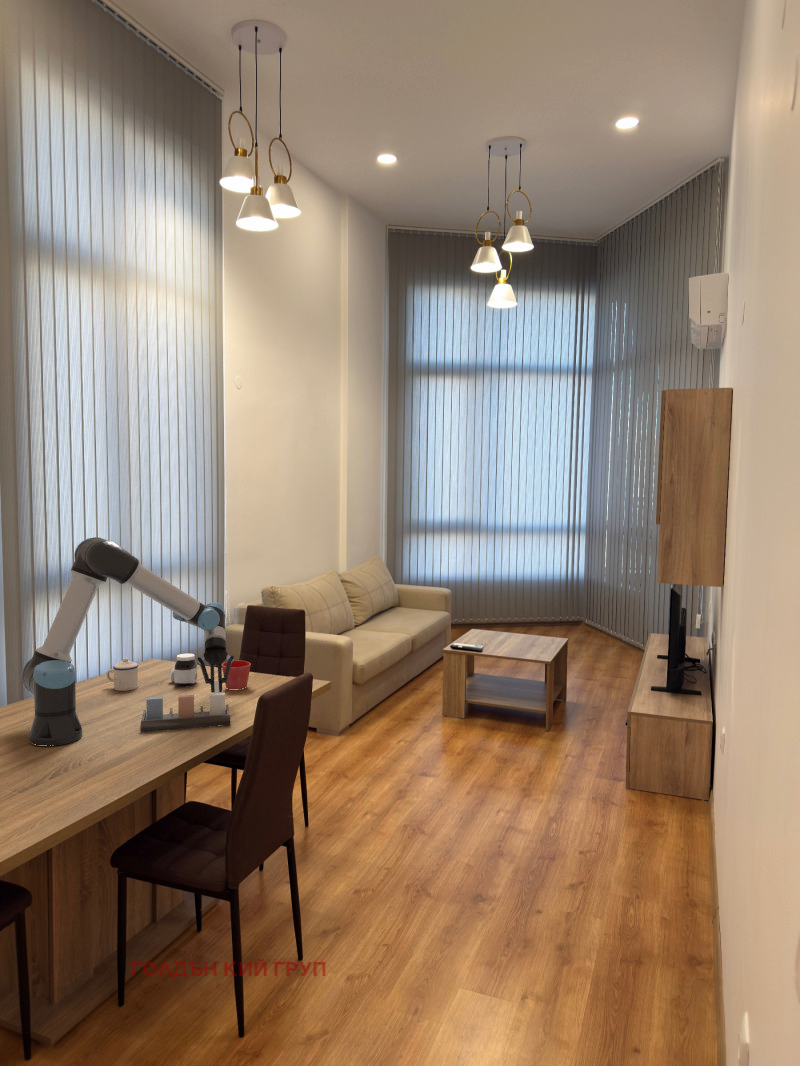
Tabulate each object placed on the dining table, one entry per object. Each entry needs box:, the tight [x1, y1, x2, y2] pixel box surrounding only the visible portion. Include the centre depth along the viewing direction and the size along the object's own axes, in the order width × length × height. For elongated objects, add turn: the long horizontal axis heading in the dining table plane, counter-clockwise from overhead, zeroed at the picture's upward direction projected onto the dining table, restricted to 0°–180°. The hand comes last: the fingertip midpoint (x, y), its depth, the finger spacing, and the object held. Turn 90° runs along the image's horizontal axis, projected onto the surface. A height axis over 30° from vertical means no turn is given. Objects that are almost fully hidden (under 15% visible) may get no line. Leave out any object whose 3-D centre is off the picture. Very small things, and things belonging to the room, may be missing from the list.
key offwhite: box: [208, 692, 226, 716], centre depth 253 cm, size 2×5×7 cm, turn 105°
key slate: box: [146, 696, 164, 720], centre depth 247 cm, size 2×5×7 cm, turn 105°
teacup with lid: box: [106, 657, 139, 692], centre depth 290 cm, size 12×9×12 cm
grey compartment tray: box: [140, 704, 231, 733], centre depth 250 cm, size 12×28×4 cm, turn 105°
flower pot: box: [221, 659, 252, 689], centre depth 291 cm, size 11×11×10 cm
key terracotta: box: [177, 694, 195, 718], centre depth 250 cm, size 2×5×7 cm, turn 105°
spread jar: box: [168, 653, 198, 688], centre depth 297 cm, size 12×11×12 cm
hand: (216, 700), depth 257 cm, fingers closed
